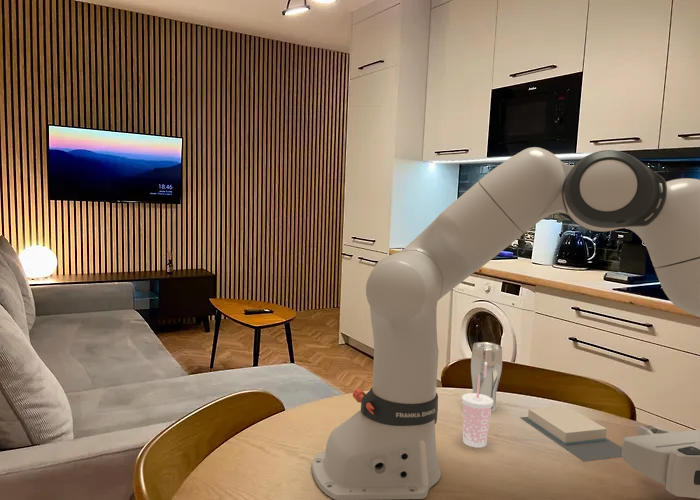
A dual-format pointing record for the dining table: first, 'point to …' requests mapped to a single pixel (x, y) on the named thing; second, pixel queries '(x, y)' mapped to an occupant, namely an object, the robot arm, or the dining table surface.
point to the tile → (567, 425)
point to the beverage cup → (476, 417)
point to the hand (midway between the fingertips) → (644, 429)
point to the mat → (587, 447)
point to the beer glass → (486, 369)
